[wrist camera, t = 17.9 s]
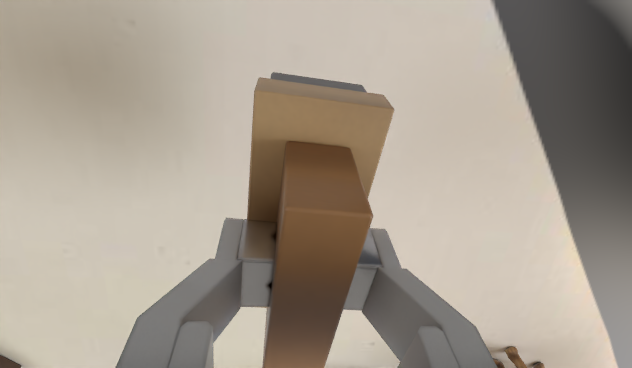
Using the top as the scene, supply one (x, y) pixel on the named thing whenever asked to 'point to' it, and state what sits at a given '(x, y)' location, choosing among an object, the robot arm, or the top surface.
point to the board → (8, 363)
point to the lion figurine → (515, 359)
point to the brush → (312, 203)
